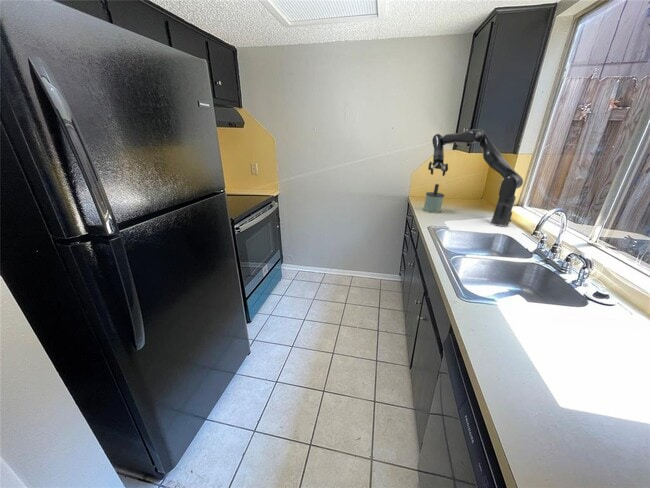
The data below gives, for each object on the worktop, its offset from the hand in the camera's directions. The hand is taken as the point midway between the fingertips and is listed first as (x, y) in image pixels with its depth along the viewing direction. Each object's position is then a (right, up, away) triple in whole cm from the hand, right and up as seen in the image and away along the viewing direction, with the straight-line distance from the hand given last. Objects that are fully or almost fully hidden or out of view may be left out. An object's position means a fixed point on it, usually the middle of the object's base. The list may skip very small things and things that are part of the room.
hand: (437, 174), depth 199 cm
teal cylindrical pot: (-2, -27, +5) cm, 27 cm away
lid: (-2, -15, 0) cm, 16 cm away
